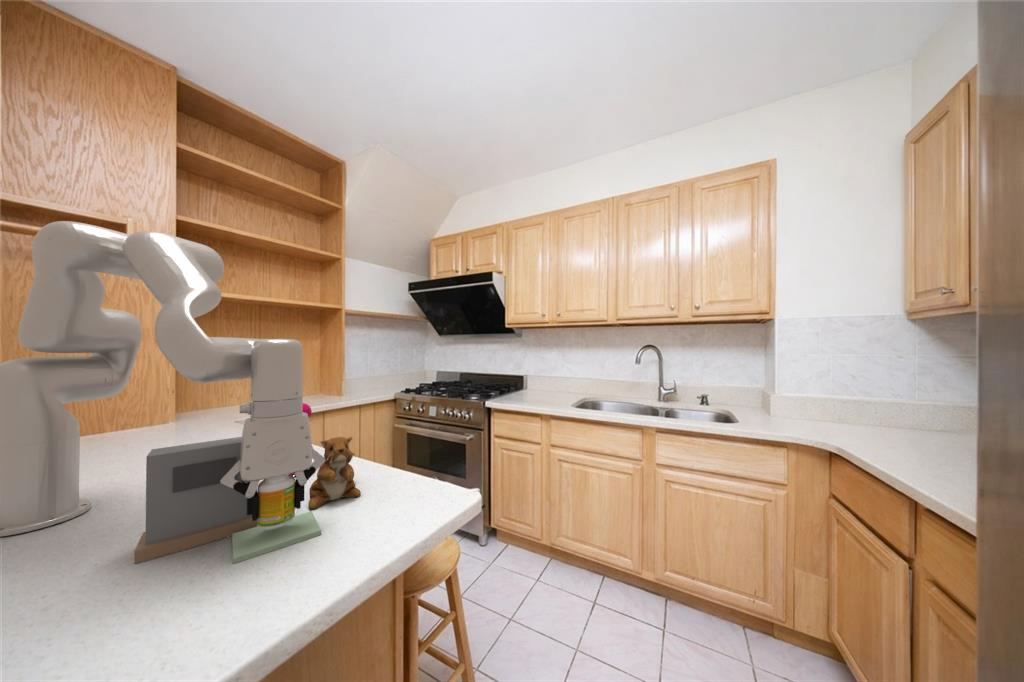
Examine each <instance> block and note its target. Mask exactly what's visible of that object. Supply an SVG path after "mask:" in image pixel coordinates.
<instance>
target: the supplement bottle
mask: <svg viewBox="0 0 1024 682" xmlns="http://www.w3.org/2000/svg"><path fill="white" fill-rule="evenodd" d="M295 478H296V477H293V476H292V475H289V474H287V475H283V476H278V477H273V478H268V479H264V480H260V481H259V484H258V486H257V494H258V519H257V526H258V528H260V529H262V530H270V529H275V528H279V527H282V526H284V525H286V524H288V523H290V522H291V521H292V520H293V519H294V517H295V516H296V508H295V480H296V479H295Z"/></svg>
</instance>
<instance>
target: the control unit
mask: <svg viewBox="0 0 1024 682" xmlns="http://www.w3.org/2000/svg"><path fill="white" fill-rule="evenodd" d="M241 440H242V436H236V437H231V438H223V439H216V440H215V439H214V440H209V441H208V440H207V441H201V442H196V443H195V442H194V443H188V444H187V443H186V444H180V445H173V446H167V447H160V448H152V449H151V450H150V451H149V452H148V454H147V456H146V461H145V462H146V465H145V466H146V467H145V468H146V469H145V472H146V473H145V476H146V477H145V530H144V531H143V532H142V534H141V536H140V538H139V540H138V543H137V545H136V547H135V549H134V558H133V560H134V562H133V563H134V564H133V565H136V564H140V563H144V562H147V561H151V560H154V559H157V558H160V557H164V556H167V555H171V554H175V553H177V552H182V551H185V550H188V549H192V548H196V547H198V546H202V545H205V544H208V543H212V541H213V542H216V541H219V539H220V540H223V539H226V537H227V538H230V537H232V534H233V533H237V532H240V531H244V530H247V529H251V528H254V527H258V526H257V520H255V521H253V520H252V514H251V515H247V497H246V496H245V495H243V494H241V493H239V492H238V491H236V490H234V489H233V488H230V487H228V486H226V485H224V484H222V483H221V482H220V479H221V477H222V476H223V475H224V474H225V473H226V472H227V471H228V470H229V469H230V468H231V466H232V465H233V464H234V463H235V462H236V461H237V460H238V459H239V458H240V449H241ZM235 478H237V479H238V480H242V478H241V476H240V471H239V472H238V473H237V474H236V475H235ZM242 481H243V480H242ZM243 482H245V483H248V482H247V481H243ZM256 492H258V488H257V489H256ZM215 540H216V541H215Z"/></svg>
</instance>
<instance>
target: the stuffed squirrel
mask: <svg viewBox="0 0 1024 682" xmlns="http://www.w3.org/2000/svg"><path fill="white" fill-rule="evenodd" d="M352 440H354V437H353V436H349V437H345V436H339V437H337V436H336V437H331V438H330V439H325V438H323V439H320V445H321V446H322V447H323V449H324V453H323V457H324V458H325V462H324V463H323V464H322V465H321V466H320V467H319V468H318V469H317V470H318V471H317V473H316V479H315V480H314V481H313V482H312V484H311V485H310V486H309V500H308V503H307V505H308V508H309V510H315V509H317V508H319V507H321V506H322V505H324V504H325V503H326V502H328V501H327V500H329V501H334V500H335V499H336V500H339V499H341V498H344V497H350V498H358V497H357V496H359V495H360V496H361V493H362V491H361V490H360V489H359V488H357V487H356V483H355V480H354V477H355V471H354V468H353V466H352V465H351V464H350V463H351V461H352V459H353V458H354V456H356V454H355V453H354V452H353V451H352V450H350V446H349V445H350V443H351V441H352ZM360 496H359V497H360Z"/></svg>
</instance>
